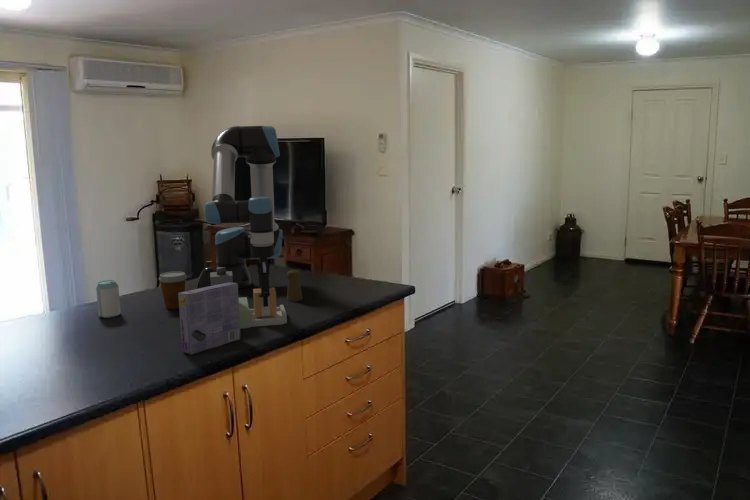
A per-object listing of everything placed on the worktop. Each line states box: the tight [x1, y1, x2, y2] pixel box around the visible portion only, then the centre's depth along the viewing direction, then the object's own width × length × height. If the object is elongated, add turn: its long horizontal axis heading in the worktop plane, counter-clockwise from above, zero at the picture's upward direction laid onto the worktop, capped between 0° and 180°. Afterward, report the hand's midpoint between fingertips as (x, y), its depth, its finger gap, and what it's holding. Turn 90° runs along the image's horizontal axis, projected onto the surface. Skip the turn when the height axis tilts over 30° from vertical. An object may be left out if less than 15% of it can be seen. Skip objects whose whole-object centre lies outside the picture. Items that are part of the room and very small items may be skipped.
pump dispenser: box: [196, 266, 216, 289], centre depth 224 cm, size 10×10×15 cm
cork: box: [286, 269, 304, 302], centre depth 236 cm, size 6×6×11 cm
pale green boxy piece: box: [210, 267, 288, 330], centre depth 209 cm, size 16×26×18 cm, turn 104°
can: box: [95, 279, 122, 319], centre depth 217 cm, size 7×7×12 cm
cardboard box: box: [252, 287, 277, 317], centre depth 211 cm, size 6×7×8 cm
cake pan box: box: [178, 283, 241, 356], centre depth 186 cm, size 19×5×18 cm, turn 141°
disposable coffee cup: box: [158, 271, 187, 310], centre depth 228 cm, size 10×10×12 cm
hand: (265, 312), depth 212 cm, fingers closed on cardboard box, 6 cm apart
